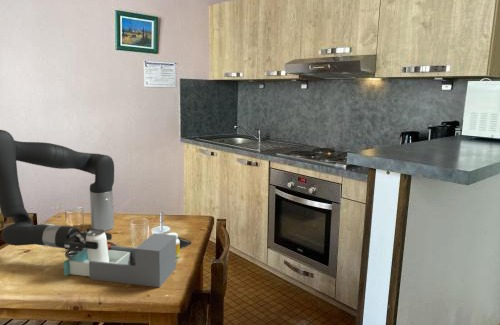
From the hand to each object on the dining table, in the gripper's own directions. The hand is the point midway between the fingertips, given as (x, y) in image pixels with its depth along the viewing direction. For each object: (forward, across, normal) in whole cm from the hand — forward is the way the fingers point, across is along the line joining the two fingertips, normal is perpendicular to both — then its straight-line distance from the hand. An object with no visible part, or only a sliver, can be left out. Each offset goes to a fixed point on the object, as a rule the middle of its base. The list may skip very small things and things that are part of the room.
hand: (104, 241), depth 131 cm
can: (-2, 0, +9) cm, 9 cm away
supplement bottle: (+19, +14, +11) cm, 26 cm away
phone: (+13, +30, +11) cm, 34 cm away
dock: (+11, 0, +10) cm, 15 cm away
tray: (-1, 0, +10) cm, 10 cm away
